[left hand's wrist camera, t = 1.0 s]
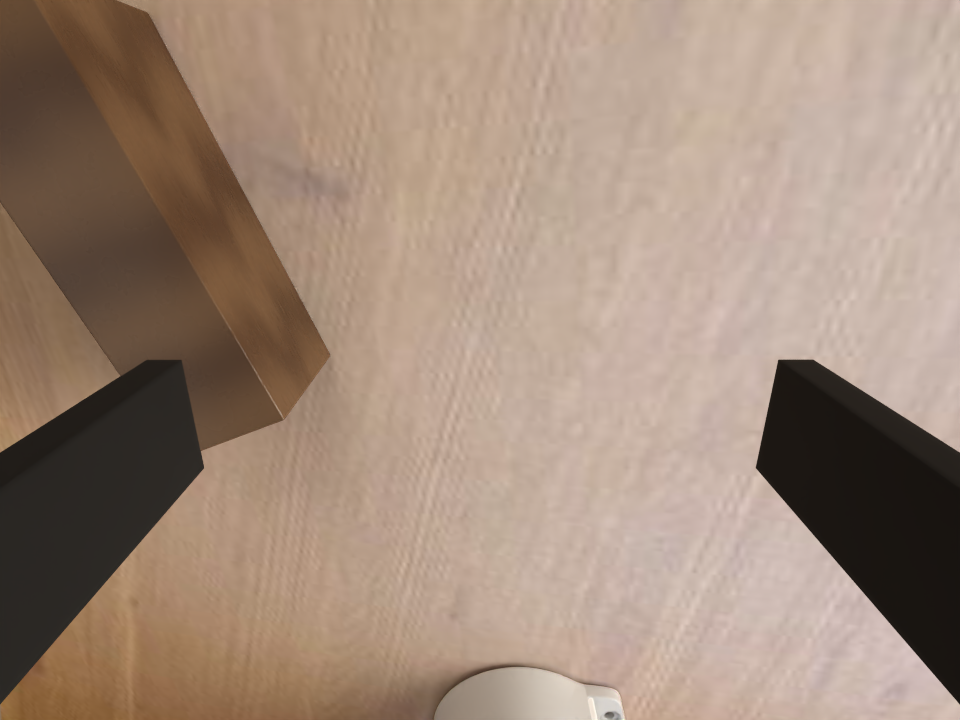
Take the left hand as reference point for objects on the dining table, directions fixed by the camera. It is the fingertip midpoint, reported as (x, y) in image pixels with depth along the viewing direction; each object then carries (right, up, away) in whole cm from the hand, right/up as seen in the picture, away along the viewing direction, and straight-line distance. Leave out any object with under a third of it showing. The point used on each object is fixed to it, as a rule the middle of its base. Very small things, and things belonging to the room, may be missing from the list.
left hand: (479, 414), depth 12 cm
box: (-16, +9, +20) cm, 28 cm away
